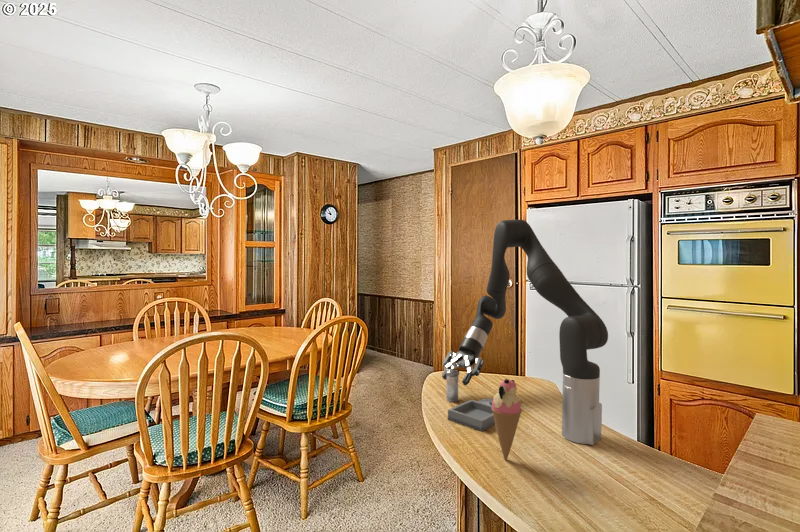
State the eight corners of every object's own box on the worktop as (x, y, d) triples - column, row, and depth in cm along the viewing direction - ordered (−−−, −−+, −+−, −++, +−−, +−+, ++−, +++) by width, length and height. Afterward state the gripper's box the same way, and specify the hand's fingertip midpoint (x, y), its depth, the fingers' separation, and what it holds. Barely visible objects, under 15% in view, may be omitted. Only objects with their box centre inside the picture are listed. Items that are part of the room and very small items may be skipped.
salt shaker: (461, 400, 143) (462, 371, 143) (453, 403, 140) (453, 373, 139) (451, 396, 146) (451, 368, 146) (442, 400, 143) (442, 371, 143)
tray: (504, 419, 127) (504, 409, 127) (481, 431, 118) (481, 421, 118) (471, 408, 135) (471, 399, 135) (447, 419, 127) (447, 409, 127)
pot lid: (514, 408, 135) (515, 391, 135) (498, 417, 128) (498, 399, 128) (488, 400, 142) (488, 384, 142) (471, 408, 135) (471, 391, 135)
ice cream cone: (513, 470, 97) (514, 385, 97) (485, 461, 102) (485, 379, 101) (527, 457, 104) (528, 377, 103) (500, 448, 108) (500, 371, 107)
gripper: (453, 333, 154) (432, 370, 146) (486, 339, 144) (466, 379, 136) (461, 345, 158) (442, 382, 150) (494, 352, 148) (475, 392, 140)
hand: (453, 381), depth 143 cm, fingers open, 8 cm apart
